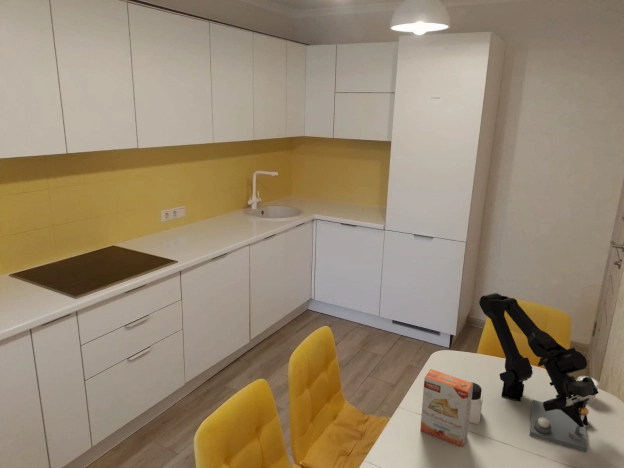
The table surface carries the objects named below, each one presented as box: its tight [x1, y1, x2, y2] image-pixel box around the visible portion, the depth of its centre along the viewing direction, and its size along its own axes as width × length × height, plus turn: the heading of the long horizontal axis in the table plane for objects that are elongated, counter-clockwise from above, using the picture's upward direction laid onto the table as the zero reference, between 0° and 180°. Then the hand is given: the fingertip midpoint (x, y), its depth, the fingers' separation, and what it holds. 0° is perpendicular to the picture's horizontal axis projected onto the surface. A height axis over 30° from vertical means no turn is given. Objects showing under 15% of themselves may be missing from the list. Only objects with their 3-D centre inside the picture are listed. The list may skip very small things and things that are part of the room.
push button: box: [538, 418, 549, 428], centre depth 147 cm, size 3×3×1 cm
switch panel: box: [529, 399, 588, 453], centre depth 150 cm, size 16×18×3 cm
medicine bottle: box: [469, 381, 484, 425], centre depth 154 cm, size 7×7×12 cm
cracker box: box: [420, 368, 474, 448], centre depth 145 cm, size 14×6×21 cm, turn 56°
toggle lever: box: [574, 406, 589, 435], centre depth 142 cm, size 3×3×10 cm
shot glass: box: [576, 375, 600, 404], centre depth 164 cm, size 7×7×7 cm
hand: (584, 426), depth 141 cm, fingers closed on toggle lever, 2 cm apart
